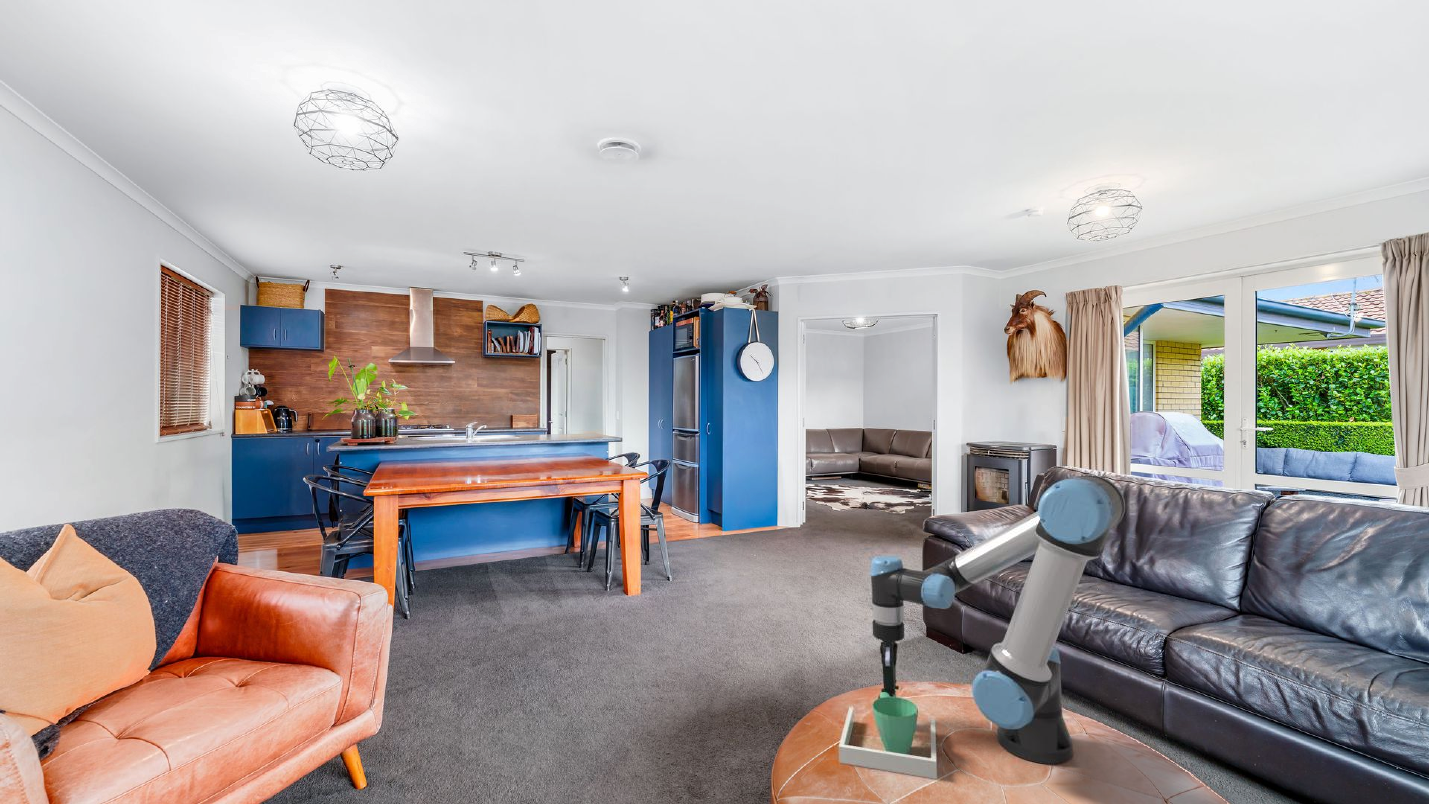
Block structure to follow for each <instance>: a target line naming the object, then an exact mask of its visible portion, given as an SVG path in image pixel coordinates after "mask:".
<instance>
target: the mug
mask: <svg viewBox="0 0 1429 804" xmlns="http://www.w3.org/2000/svg"><path fill="white" fill-rule="evenodd" d="M872 711H873V716H874V720H875V721H874V722H875V724H876V727H877V731H878V734H879V736H880V739H881V742H882V745H883V747H884V749H885V750H884V751H887V752H894V753H900V754H906V755H910V754H909V753H910V752H911V749H912V745H913V742H914V738H915V734H916V729H917V721H918V716H919V708H918V706H917V704H916V703H914V702H913V701H912V700H909V699H906V698H903V697H900V696H896V697H890V695H889V694H888V693H887V692H880V693H879V694H878V697H877V699H875V700H874V701H873V702H872Z"/></svg>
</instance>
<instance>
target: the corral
mask: <svg viewBox="0 0 1429 804" xmlns="http://www.w3.org/2000/svg"><path fill="white" fill-rule="evenodd" d="M854 712H855V709H854V707H852V706H849V708H848V711H847V715H846V719H845V721H844V726H843V729H842V734H841V736H840V741H839V744H838V763H840V764H845V765H850V766H856V767H864V768H870V769H874V770H881V771H885V772H886V771H888V772H894V773H898V774H905V775H908V776H909V775H910V776H915V777H922V778H928V779H934V780H938V773H937V772H938V769H937V768H938V766H937V737H936V736H937V734H936V733H937V732H936V718H935V717H934V718H933V717H930V757H925V756H918V755H910V754H908V755H906V754H900V753H894V752H887V751H886V750H880V749H873V748H869V747H868V748H866V747H862V746H855V745H849V744H850V740H851V735H852V732H853V727H854V723H855V716H854V715H855V713H854Z"/></svg>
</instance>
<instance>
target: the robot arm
mask: <svg viewBox="0 0 1429 804" xmlns="http://www.w3.org/2000/svg"><path fill="white" fill-rule="evenodd" d="M1125 512H1126V501H1125V497H1124V495H1123V493H1122V491H1121V490H1120V488H1119V487H1118V486H1117V485H1115V483H1114V482H1112V481H1111V480H1109V479H1107V478H1105V477H1102V476H1098V475H1093V474H1090V475H1089V474H1085V475H1080V476H1076V477H1073V478H1072V477H1071V478H1066V479H1063V480H1062V479H1061V480H1060V481H1057V482H1056V483H1053V484H1052V485H1050V487H1049V488H1047V489H1046V490H1045V492H1044V493H1043V494H1042V495H1041V497H1040V499H1039V502H1038V508H1037V511H1036V512H1034V513H1032V514H1030V515H1028V516H1027V517H1024V518H1022V519H1021V520H1019V521H1017V522H1015V523H1014V524H1011V525H1009V526H1008V527H1006V528H1004V529H1002V530H1000V531H999V532H997V533H995V534H993V535H991V536H989V537H988V538H985V539H983V541H981V542H979V543H977V544H974V545H973V546H971V547H970V548H968V549H966V550H963V551H962V552H960V553H958V554H957V555H955V556H952V557H951V558H949V559H947V560H945V561H943V562H941V563H939V564H937V565H935V566H932V567H931V568H928V569H926V570H917V569H916V570H914V569H909V568H906V567H905V568H904V565H903V560H902V559H901V558H900V557H897V556H892V555H879V556H875V557H873V558H872V559H871V563H870V564H871V566H870V578H871V579H870V580H871V604H872V605H870V606H869V609H870V610H872V619H873V620H872V622H871V624H872V636H873V637H874V638H876V640H880V641H881V642H880V645H879V653H880V655H881V660H880V661H881V665H882V678H883V679H882V681H883V684H882V685H883V688H881V689H880V690H881V691H880V693H882V692H887V693H888V694H889V695H890V697H897V691H899V690H900V688H899V687H900V686H899V685H896V683H897V679H896V678H897V675H896V673H897V671H896V670H897V669H896V668H897V660H898V643H896V642H900V641H902V640H904V638H905V624H904V621H905V604H904V602H909V603H914V604H916V605H921V606H927V607H929V608H932V609H942V610H947V609H949V608H950V607H951V606H952V604H953V602H955V601H954V600H955V596H956V594H957V593H959V592H962V591H964V590H966V589H967V588H969V587H970V586H973V585H974V584H976V583H978V582H981V581H984V580H985V579H987V578H988V577H991V576H993V575H994V574H996V573H999V572H1001V571H1002V570H1005V569H1007V568H1009V567H1012V566H1013V565H1015V564H1017V563H1019V562H1021V561H1023V560H1025V559H1027V558H1029V557H1031V556H1033V555H1034V558H1033V560H1032V563H1031V566H1030V569H1029V571H1028V574H1027V577H1026V579H1025V582H1024V584H1023V586H1022V589H1021V591H1020V596H1019V598H1018V601H1017V603H1016V605H1015V608H1014V611H1013V614H1012V616H1011V619H1010V622H1009V625H1008V628H1007V631H1006V633H1005V635H1004V638H1003V640H1002V641H1001V642H998V643H995V644H992V645H993V646H992V647H991V649H990V652H989V654H988V656H987V657H988V658H987V660H986V663H985V666H984V668H983V670H982V671H980V672H979V673H978V674H977V675H976V676H975V679H974V680H973V682H972V687H971V688H972V689H971V692H972V697H973V700H974V702H975V704H976V706H977V708H978V710H979V711H980V712H981V714H982V715H983V716H984V717H985V718H986V719H988V721H990V722H991V723H992V724H994V725H996V726H997V728H996V733H997V741H998V743H999V745H1000V746H1001V747H1002V748H1003V749H1004V750H1006V751H1007V752H1009V753H1010V754H1012V755H1014V756H1016V757H1018V758H1020V759H1023V760H1026V761H1030V762H1035V763H1039V764H1047V765H1049V764H1050V765H1052V764H1053V765H1055V764H1062V763H1066V762H1068V761H1070V760H1071V759H1072V758H1073V756H1074V743H1073V740H1072V737H1071V735H1070V732H1069V728H1068V726H1067V724H1066V722H1065V719H1064V717H1063V704H1062V703H1063V702H1062V699H1063V698H1062V681H1061V679H1062V677H1061V676H1062V674H1061V665H1062V663H1061V659H1060V653H1059V651H1058V649H1057V648H1056V647H1055V644H1056V642H1057V639H1058V636H1059V634H1060V631H1061V628H1062V626H1063V623H1064V621H1065V620H1066V616H1067V613H1068V611H1069V609H1070V606H1071V603H1072V600H1073V598H1074V596H1075V593H1076V591H1077V588H1078V585H1079V583H1080V581H1081V579H1082V575H1083V573H1084V570H1085V567H1086V565H1087V563H1088V562H1089V561H1092V560H1095V559H1098V558H1099V557H1100V556H1101V553H1102V550H1103V548H1104V546H1105V543H1106V540H1107V538H1108V536H1109V534H1110V531H1111V529H1113V528H1114V527H1115V526H1117V525H1118V524H1119V523H1120V522H1121V521H1122V519H1123V518H1124V514H1125Z"/></svg>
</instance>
